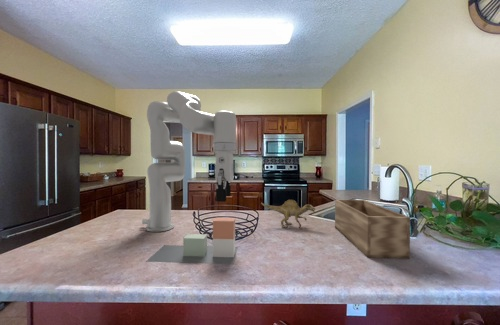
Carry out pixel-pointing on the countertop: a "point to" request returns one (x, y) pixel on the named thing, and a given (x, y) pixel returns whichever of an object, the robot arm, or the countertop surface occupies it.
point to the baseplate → (176, 255)
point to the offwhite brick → (223, 247)
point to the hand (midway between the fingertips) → (223, 198)
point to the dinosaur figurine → (290, 211)
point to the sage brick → (195, 245)
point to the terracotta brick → (224, 228)
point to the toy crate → (373, 229)
